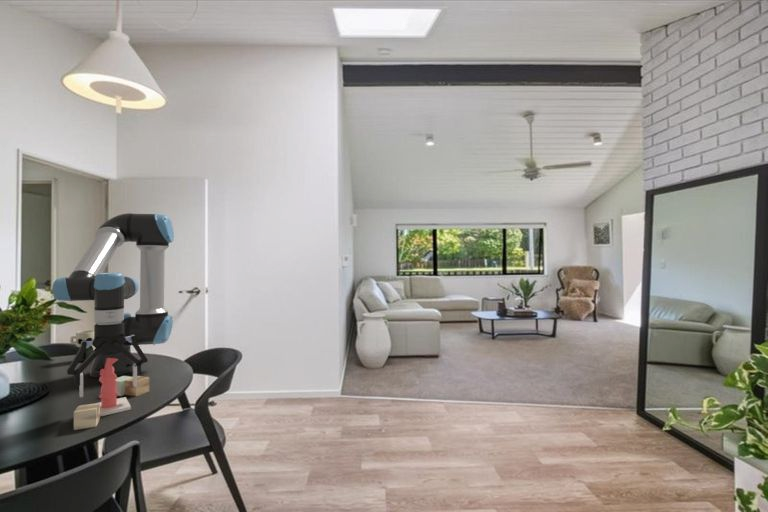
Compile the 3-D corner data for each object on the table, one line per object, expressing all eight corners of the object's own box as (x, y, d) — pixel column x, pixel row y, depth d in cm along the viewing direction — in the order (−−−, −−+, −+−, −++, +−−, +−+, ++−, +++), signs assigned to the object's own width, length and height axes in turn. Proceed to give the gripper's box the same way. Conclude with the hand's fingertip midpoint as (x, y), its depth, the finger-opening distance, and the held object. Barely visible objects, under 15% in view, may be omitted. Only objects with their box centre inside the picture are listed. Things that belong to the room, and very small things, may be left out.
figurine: (113, 401, 122) (113, 354, 122) (122, 404, 119) (122, 356, 119) (95, 406, 117) (95, 358, 117) (104, 410, 115) (104, 360, 115)
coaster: (87, 408, 119) (87, 404, 119) (125, 400, 125) (125, 397, 125) (90, 418, 111) (90, 415, 111) (130, 409, 118) (130, 406, 118)
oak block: (125, 394, 130) (125, 380, 130) (138, 389, 135) (138, 375, 135) (136, 396, 129) (136, 381, 129) (149, 391, 134) (149, 377, 134)
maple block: (78, 423, 109) (78, 405, 109) (99, 419, 111) (100, 402, 111) (73, 430, 104) (73, 412, 104) (96, 426, 107) (96, 409, 106)
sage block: (109, 394, 130) (109, 380, 130) (123, 389, 135) (123, 375, 135) (120, 396, 129) (120, 381, 129) (134, 391, 134) (134, 377, 134)
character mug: (68, 364, 164) (68, 334, 164) (72, 359, 170) (72, 331, 170) (99, 360, 169) (99, 331, 169) (102, 356, 176) (102, 329, 176)
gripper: (56, 329, 107) (56, 404, 107) (157, 319, 124) (157, 384, 124) (56, 325, 113) (55, 396, 113) (152, 316, 129) (152, 378, 129)
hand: (109, 390), depth 118 cm, fingers open, 13 cm apart
